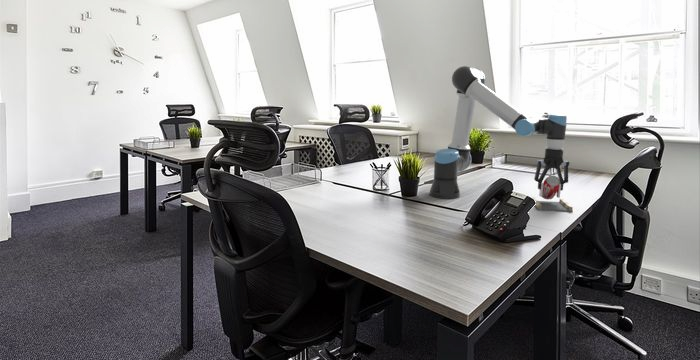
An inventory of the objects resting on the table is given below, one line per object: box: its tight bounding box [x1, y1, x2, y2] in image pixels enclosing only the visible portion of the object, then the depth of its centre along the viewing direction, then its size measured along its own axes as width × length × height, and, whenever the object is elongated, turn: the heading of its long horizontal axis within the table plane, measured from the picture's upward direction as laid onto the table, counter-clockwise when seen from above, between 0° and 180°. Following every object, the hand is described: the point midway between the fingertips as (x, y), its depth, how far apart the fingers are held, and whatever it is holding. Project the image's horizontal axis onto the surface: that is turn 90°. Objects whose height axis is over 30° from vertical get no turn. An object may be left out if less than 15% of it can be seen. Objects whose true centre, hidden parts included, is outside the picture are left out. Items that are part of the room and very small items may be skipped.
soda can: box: [541, 175, 560, 200], centre depth 198 cm, size 7×7×12 cm
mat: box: [534, 200, 573, 213], centre depth 195 cm, size 16×14×1 cm
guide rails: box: [532, 197, 573, 211], centre depth 195 cm, size 16×14×2 cm
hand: (549, 196), depth 198 cm, fingers closed on soda can, 7 cm apart
